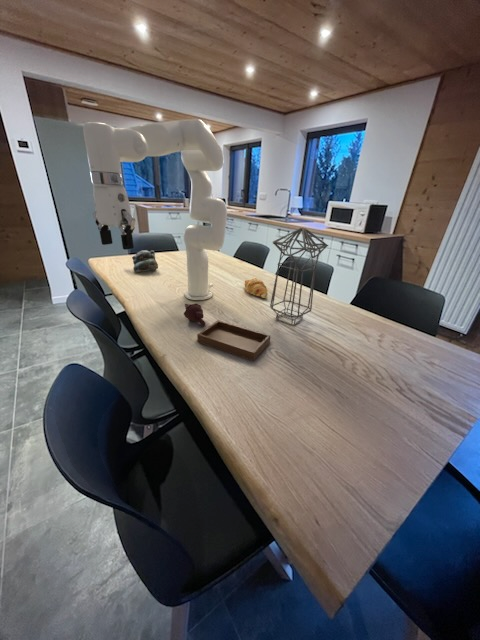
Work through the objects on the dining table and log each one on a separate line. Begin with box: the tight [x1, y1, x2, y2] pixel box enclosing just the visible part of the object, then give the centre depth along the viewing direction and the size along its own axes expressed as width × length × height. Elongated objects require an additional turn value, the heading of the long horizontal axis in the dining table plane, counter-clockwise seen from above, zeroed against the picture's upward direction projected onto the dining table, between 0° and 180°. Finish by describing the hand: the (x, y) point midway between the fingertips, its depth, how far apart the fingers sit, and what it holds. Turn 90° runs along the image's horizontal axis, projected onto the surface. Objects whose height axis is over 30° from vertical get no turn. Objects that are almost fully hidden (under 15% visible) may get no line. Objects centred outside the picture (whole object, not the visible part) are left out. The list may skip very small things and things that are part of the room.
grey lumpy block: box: [131, 248, 159, 274], centre depth 155 cm, size 15×12×14 cm
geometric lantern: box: [269, 227, 329, 326], centre depth 98 cm, size 16×16×35 cm
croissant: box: [244, 278, 268, 299], centre depth 131 cm, size 21×10×8 cm, turn 26°
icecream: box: [183, 303, 206, 327], centre depth 100 cm, size 7×7×15 cm
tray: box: [196, 319, 271, 362], centre depth 87 cm, size 13×21×3 cm, turn 62°
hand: (117, 246), depth 77 cm, fingers open, 9 cm apart
